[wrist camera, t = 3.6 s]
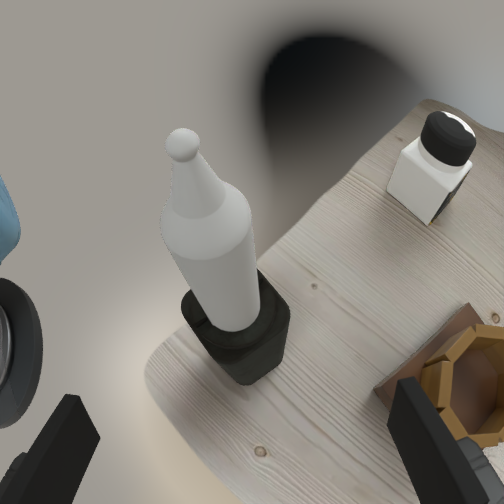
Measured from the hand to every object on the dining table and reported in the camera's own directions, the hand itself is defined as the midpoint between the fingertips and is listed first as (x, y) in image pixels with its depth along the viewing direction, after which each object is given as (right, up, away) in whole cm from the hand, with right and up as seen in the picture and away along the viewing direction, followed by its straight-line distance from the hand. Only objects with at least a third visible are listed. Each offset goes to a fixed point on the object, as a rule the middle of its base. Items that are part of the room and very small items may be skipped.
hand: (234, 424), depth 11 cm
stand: (+21, -7, +14) cm, 26 cm away
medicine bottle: (+22, +14, +25) cm, 36 cm away
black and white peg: (0, -3, +18) cm, 18 cm away
